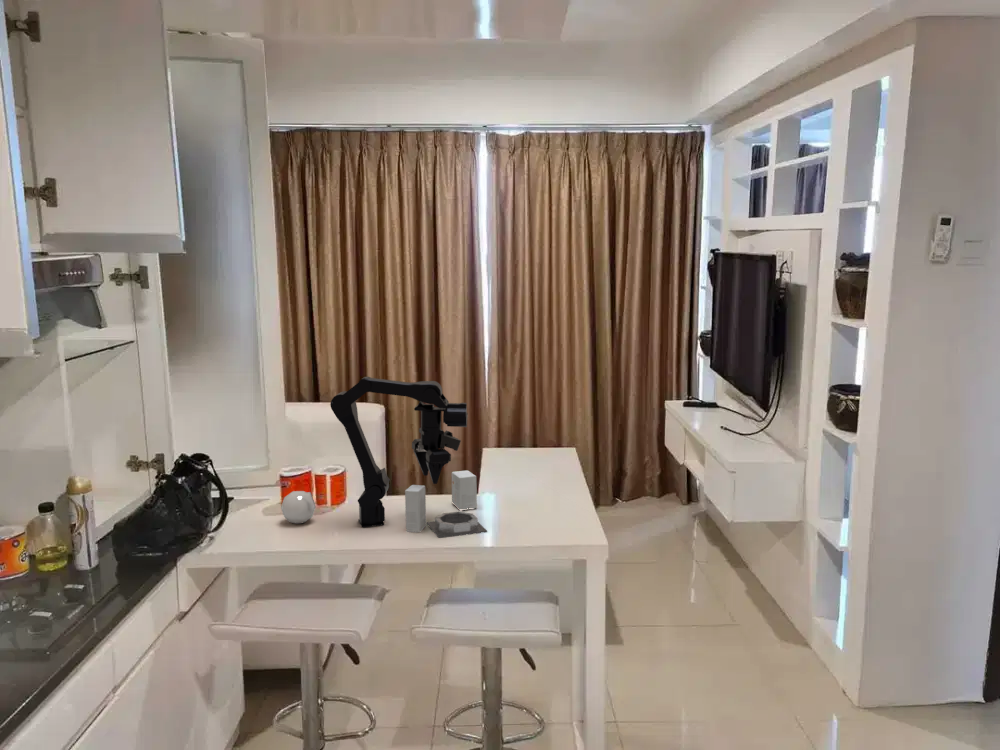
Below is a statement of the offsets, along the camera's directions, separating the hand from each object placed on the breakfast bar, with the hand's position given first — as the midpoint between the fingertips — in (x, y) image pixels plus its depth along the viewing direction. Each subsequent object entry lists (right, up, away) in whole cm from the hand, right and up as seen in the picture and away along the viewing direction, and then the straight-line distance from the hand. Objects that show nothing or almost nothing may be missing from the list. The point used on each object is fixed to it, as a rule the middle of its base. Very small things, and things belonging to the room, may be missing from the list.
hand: (430, 479), depth 215 cm
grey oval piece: (-39, -13, +6) cm, 41 cm away
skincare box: (-4, -14, -3) cm, 15 cm away
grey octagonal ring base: (+8, -13, -2) cm, 16 cm away
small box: (+9, -11, +18) cm, 23 cm away
